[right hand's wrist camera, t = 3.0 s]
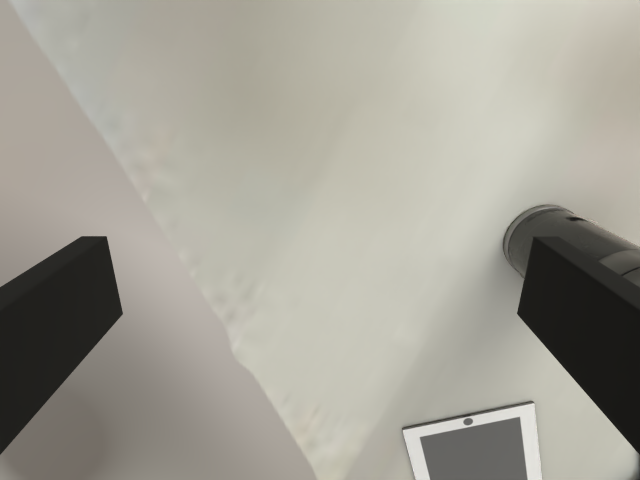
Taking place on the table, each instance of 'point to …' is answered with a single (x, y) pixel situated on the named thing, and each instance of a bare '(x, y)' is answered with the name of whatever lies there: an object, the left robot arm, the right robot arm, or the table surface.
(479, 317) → the table surface
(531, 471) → the tablet
